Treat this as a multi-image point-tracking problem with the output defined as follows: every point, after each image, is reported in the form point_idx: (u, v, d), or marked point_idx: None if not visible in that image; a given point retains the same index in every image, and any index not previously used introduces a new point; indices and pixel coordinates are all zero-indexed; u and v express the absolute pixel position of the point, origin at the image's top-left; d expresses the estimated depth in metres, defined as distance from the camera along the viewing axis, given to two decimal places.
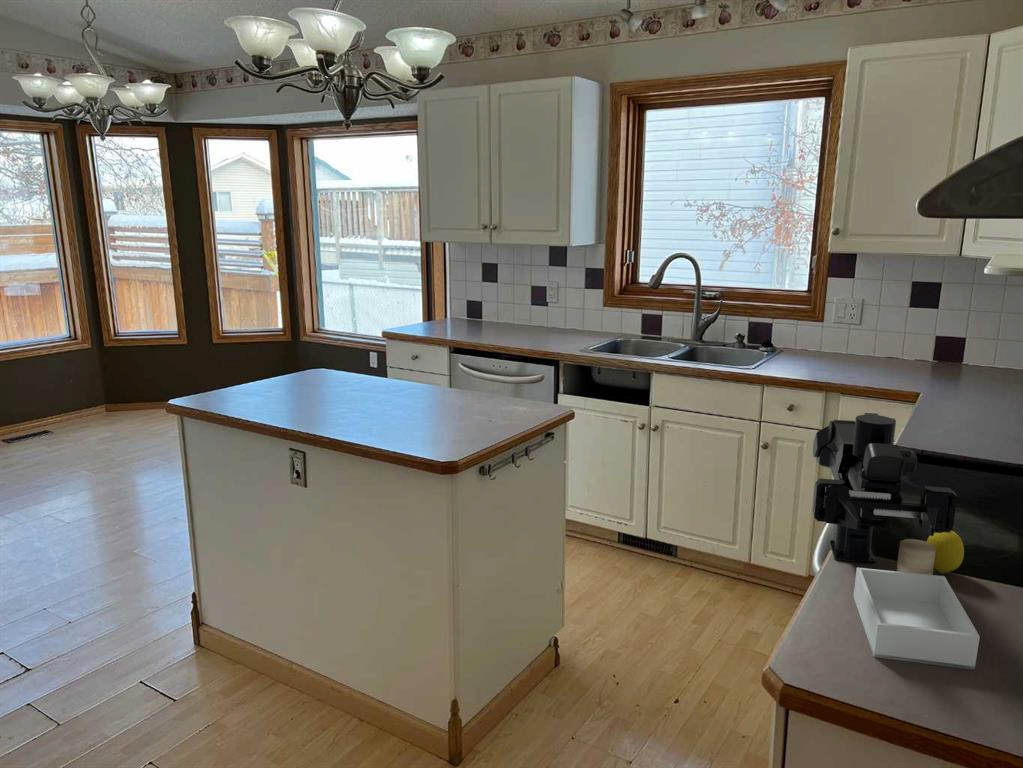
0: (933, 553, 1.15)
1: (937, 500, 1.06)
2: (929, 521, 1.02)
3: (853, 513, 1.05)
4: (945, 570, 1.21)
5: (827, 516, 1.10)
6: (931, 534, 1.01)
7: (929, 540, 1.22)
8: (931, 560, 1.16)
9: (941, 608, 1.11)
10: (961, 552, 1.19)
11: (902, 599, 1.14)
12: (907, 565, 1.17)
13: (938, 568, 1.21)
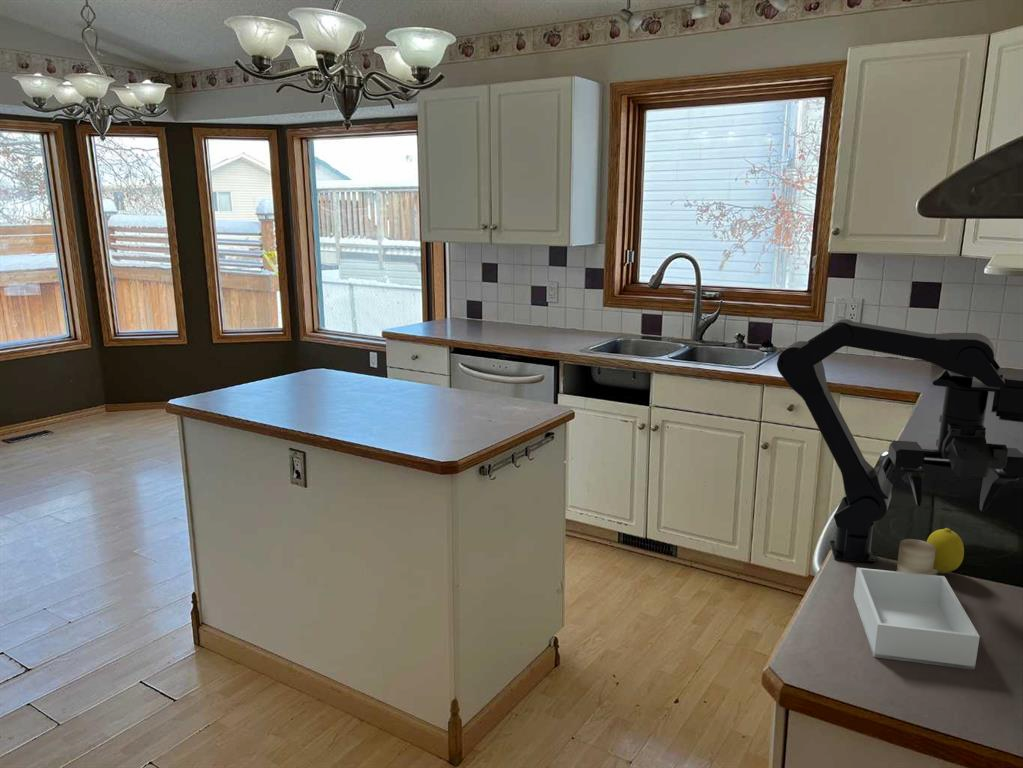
0: (933, 553, 1.15)
1: (1006, 481, 1.15)
2: (984, 502, 1.18)
3: (918, 495, 1.20)
4: (945, 570, 1.21)
5: None
6: (980, 509, 1.19)
7: (929, 540, 1.22)
8: (931, 560, 1.16)
9: (941, 608, 1.11)
10: (961, 552, 1.19)
11: (902, 599, 1.14)
12: (907, 565, 1.17)
13: (938, 568, 1.21)
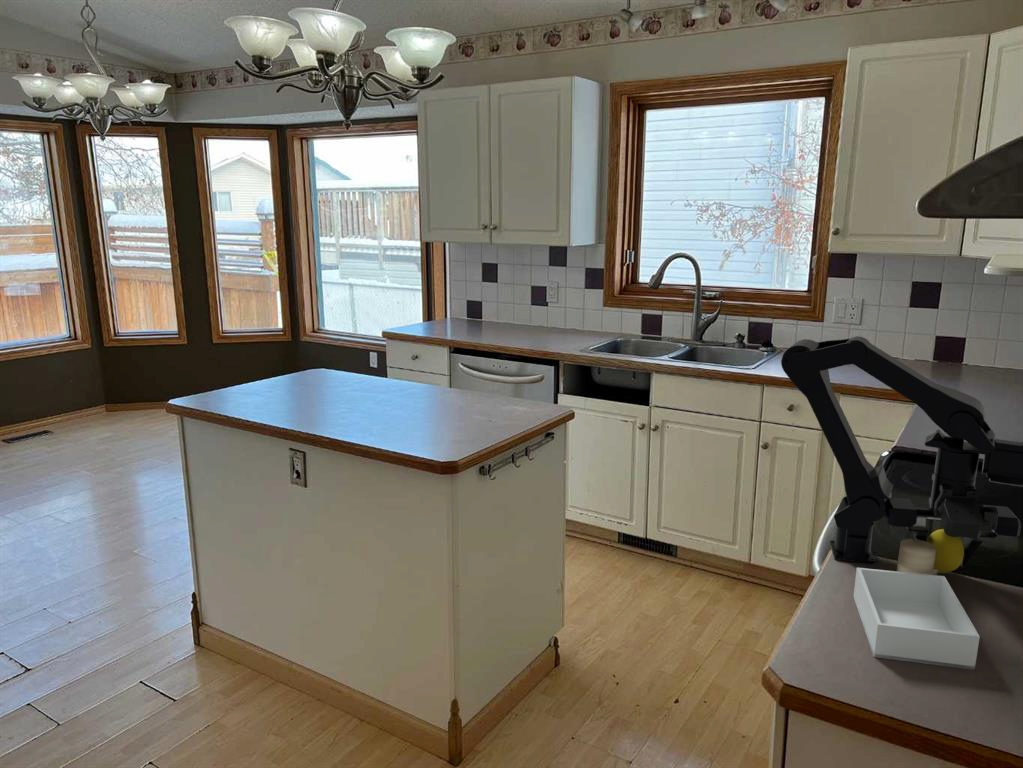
0: (933, 553, 1.15)
1: (985, 539, 1.18)
2: (964, 558, 1.21)
3: None
4: (945, 570, 1.21)
5: None
6: (961, 564, 1.22)
7: (929, 540, 1.22)
8: (931, 560, 1.16)
9: (941, 608, 1.11)
10: (961, 552, 1.19)
11: (902, 599, 1.14)
12: (907, 565, 1.17)
13: (938, 568, 1.21)
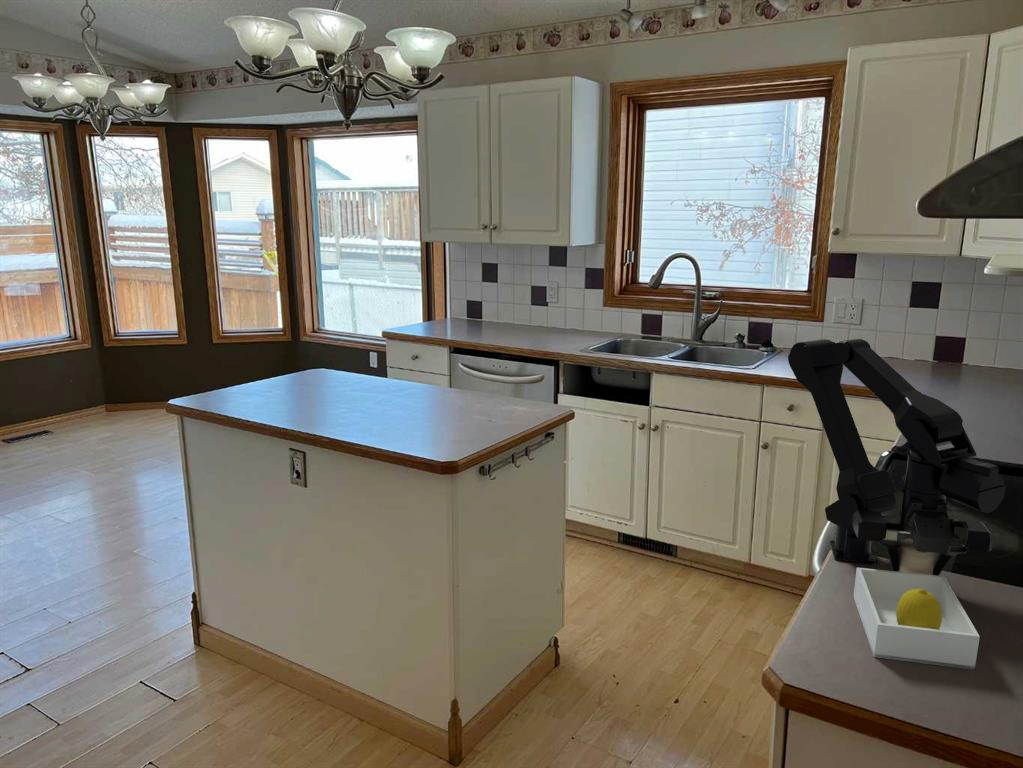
0: (931, 553, 1.15)
1: (954, 553, 1.14)
2: (934, 573, 1.17)
3: (894, 568, 1.18)
4: None
5: None
6: None
7: (901, 602, 1.03)
8: (928, 560, 1.15)
9: (941, 608, 1.11)
10: (938, 618, 1.01)
11: None
12: (904, 563, 1.17)
13: None
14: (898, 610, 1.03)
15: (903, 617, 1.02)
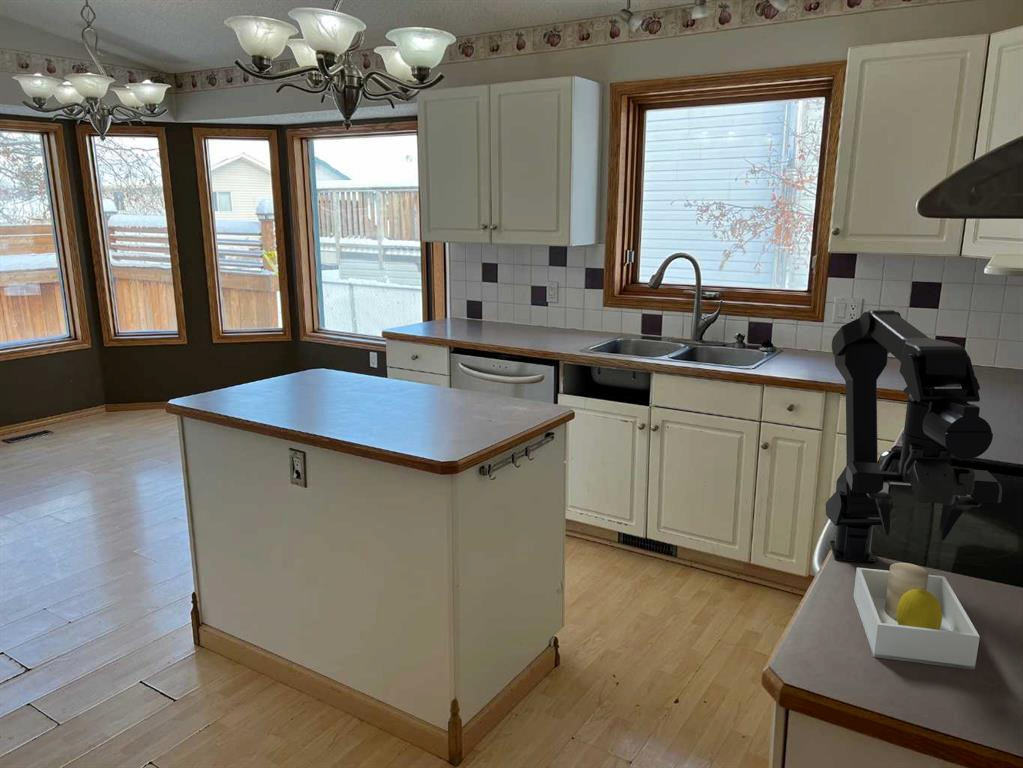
0: (922, 580, 1.07)
1: (967, 507, 1.02)
2: (944, 531, 1.05)
3: (885, 523, 1.07)
4: None
5: None
6: (940, 538, 1.07)
7: (901, 602, 1.03)
8: (920, 587, 1.07)
9: (941, 608, 1.11)
10: (938, 618, 1.01)
11: None
12: (893, 589, 1.09)
13: None
14: (898, 610, 1.03)
15: (903, 617, 1.02)
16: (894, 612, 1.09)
